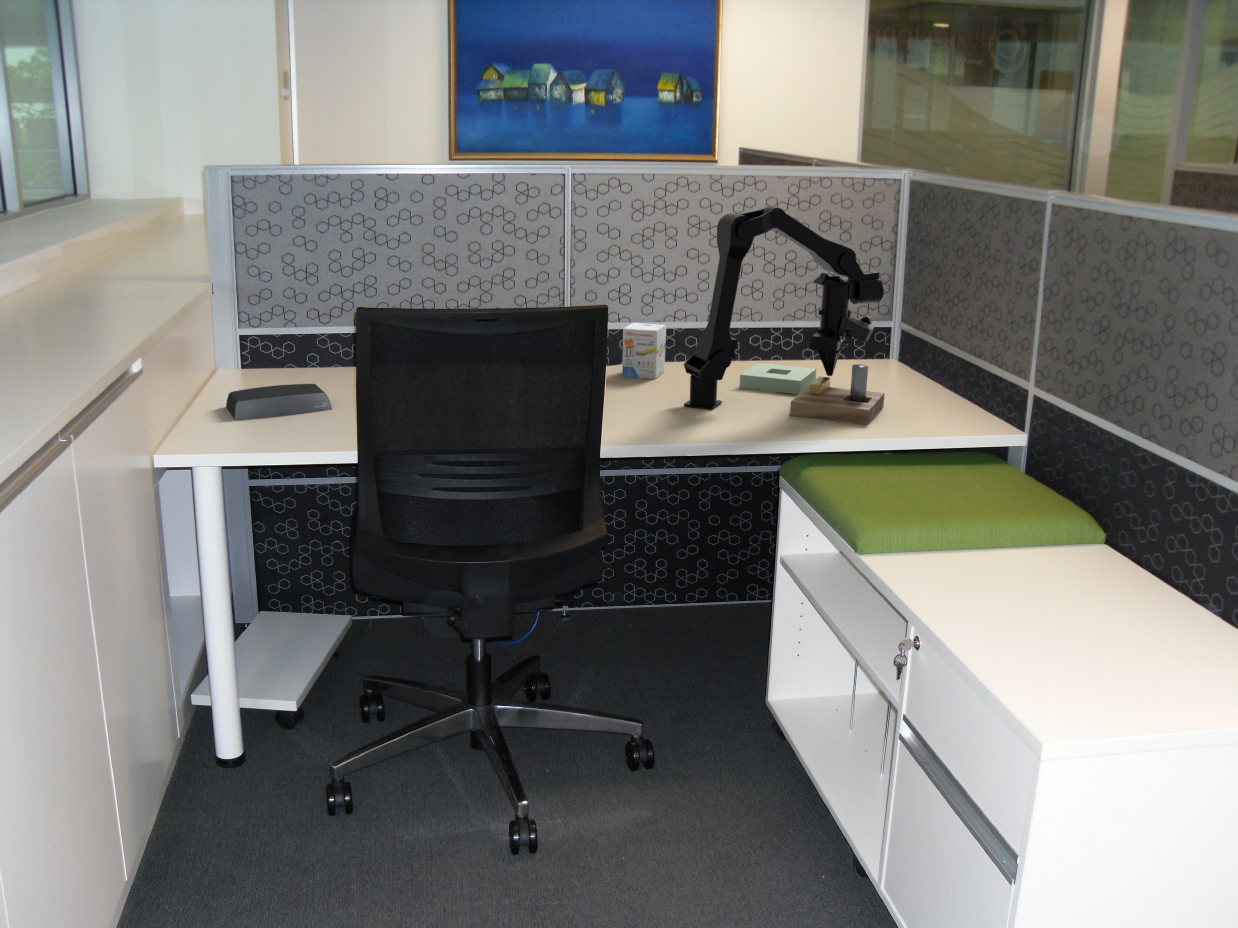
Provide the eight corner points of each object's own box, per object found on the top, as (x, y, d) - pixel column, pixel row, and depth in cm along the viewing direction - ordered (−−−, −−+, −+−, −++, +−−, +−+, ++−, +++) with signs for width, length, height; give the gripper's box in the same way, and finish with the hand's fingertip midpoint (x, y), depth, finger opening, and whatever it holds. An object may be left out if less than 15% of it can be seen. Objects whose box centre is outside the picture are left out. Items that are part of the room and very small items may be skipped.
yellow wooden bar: (820, 394, 222) (821, 385, 222) (809, 393, 223) (810, 384, 223) (829, 386, 229) (830, 377, 229) (818, 385, 230) (819, 376, 230)
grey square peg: (862, 415, 218) (866, 368, 215) (847, 414, 219) (850, 366, 216) (865, 412, 221) (869, 365, 218) (850, 410, 222) (854, 363, 219)
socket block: (868, 424, 212) (869, 410, 211) (790, 415, 218) (790, 401, 217) (883, 406, 226) (884, 392, 225) (809, 398, 232) (810, 385, 231)
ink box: (621, 376, 251) (621, 327, 247) (631, 369, 258) (631, 321, 255) (656, 379, 248) (657, 330, 245) (665, 372, 256) (666, 323, 253)
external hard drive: (333, 412, 219) (332, 393, 217) (235, 423, 210) (233, 403, 209) (319, 398, 230) (318, 380, 228) (225, 408, 221) (223, 389, 220)
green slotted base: (799, 394, 236) (800, 380, 235) (739, 387, 241) (740, 374, 240) (815, 381, 248) (816, 368, 247) (757, 375, 253) (758, 363, 252)
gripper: (863, 314, 218) (857, 388, 222) (880, 301, 234) (874, 371, 239) (810, 310, 222) (805, 382, 227) (830, 298, 238) (826, 366, 243)
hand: (829, 375), depth 234 cm, fingers closed
